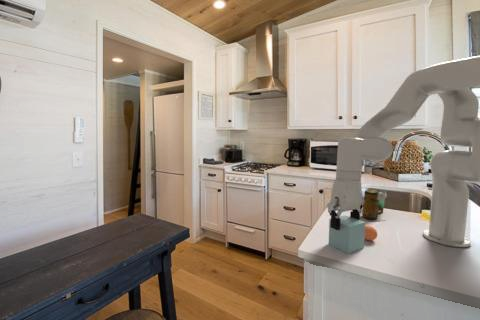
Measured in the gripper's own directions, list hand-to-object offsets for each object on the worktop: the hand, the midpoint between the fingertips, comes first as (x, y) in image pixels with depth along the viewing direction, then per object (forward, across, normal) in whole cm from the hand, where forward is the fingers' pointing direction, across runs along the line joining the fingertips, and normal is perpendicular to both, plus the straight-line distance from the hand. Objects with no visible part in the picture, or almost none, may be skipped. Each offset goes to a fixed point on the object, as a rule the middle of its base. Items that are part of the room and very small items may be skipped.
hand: (344, 226), depth 77 cm
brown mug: (+6, -34, -12) cm, 36 cm away
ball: (+4, -12, +1) cm, 12 cm away
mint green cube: (+7, -1, 0) cm, 7 cm away
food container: (+6, -46, -16) cm, 49 cm away
